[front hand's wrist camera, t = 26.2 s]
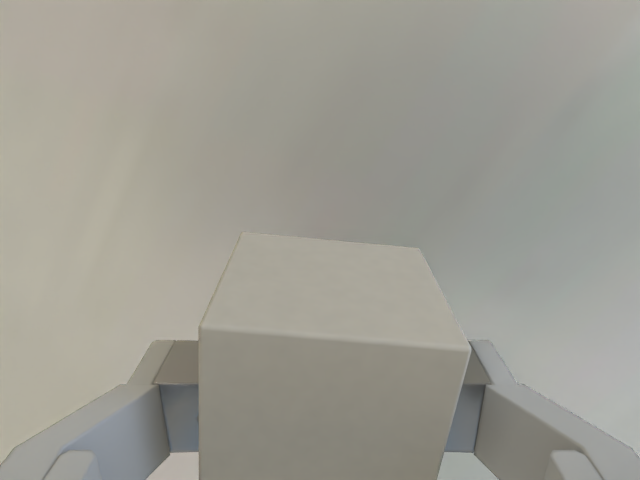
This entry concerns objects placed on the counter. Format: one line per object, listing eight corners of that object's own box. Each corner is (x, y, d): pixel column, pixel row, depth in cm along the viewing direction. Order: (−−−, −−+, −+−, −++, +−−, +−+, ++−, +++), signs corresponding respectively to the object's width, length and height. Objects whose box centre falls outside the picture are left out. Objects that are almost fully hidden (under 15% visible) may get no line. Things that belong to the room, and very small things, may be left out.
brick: (391, 390, 13) (423, 535, 9) (235, 377, 13) (197, 520, 9) (420, 246, 12) (474, 348, 8) (240, 230, 12) (196, 324, 7)
